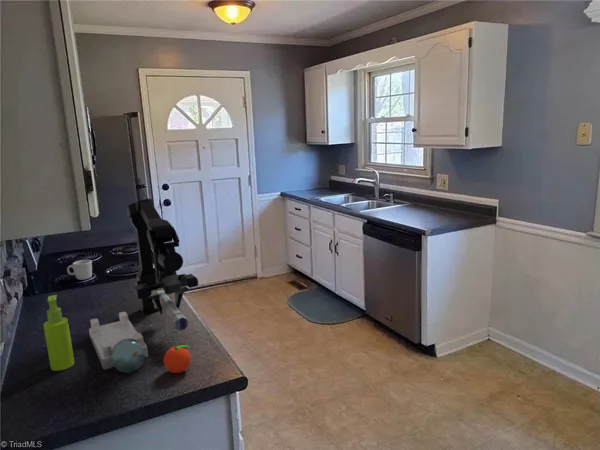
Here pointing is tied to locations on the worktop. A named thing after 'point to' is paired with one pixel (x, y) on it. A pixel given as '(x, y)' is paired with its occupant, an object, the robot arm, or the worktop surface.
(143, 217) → the robot arm
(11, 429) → the worktop surface
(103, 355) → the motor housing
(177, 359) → the clementine
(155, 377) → the worktop surface
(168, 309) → the electric toothbrush handle
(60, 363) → the soap dispenser
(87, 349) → the worktop surface
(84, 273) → the cup
